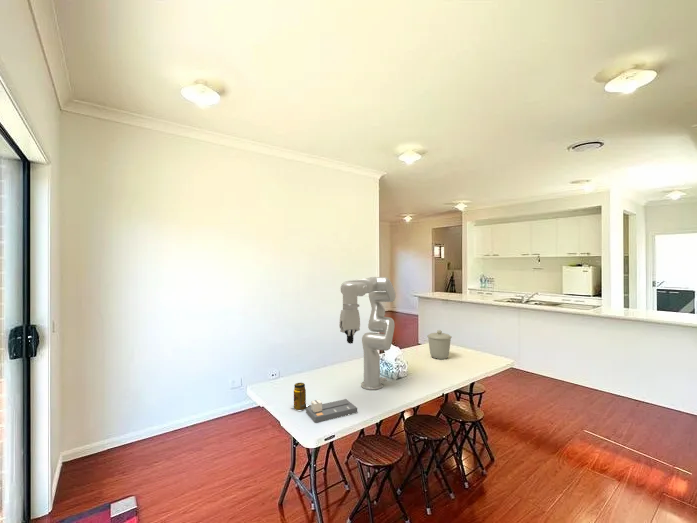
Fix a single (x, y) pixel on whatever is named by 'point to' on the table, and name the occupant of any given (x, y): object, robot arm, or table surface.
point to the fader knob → (316, 406)
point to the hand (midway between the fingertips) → (350, 342)
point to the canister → (439, 344)
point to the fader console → (332, 410)
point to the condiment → (300, 396)
